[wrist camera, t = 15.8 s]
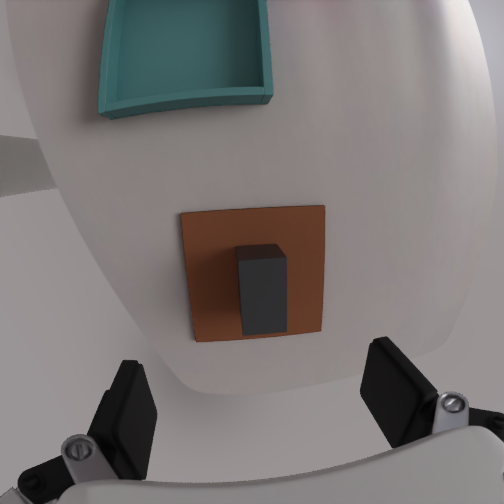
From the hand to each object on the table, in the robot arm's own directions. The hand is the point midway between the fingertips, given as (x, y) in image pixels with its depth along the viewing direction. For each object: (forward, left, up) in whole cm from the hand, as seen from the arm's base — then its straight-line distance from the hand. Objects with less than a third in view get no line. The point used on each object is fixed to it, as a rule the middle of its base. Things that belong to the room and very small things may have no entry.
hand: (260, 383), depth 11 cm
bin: (-4, +24, -19) cm, 31 cm away
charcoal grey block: (+2, -2, -19) cm, 19 cm away
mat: (+2, -2, -19) cm, 19 cm away
